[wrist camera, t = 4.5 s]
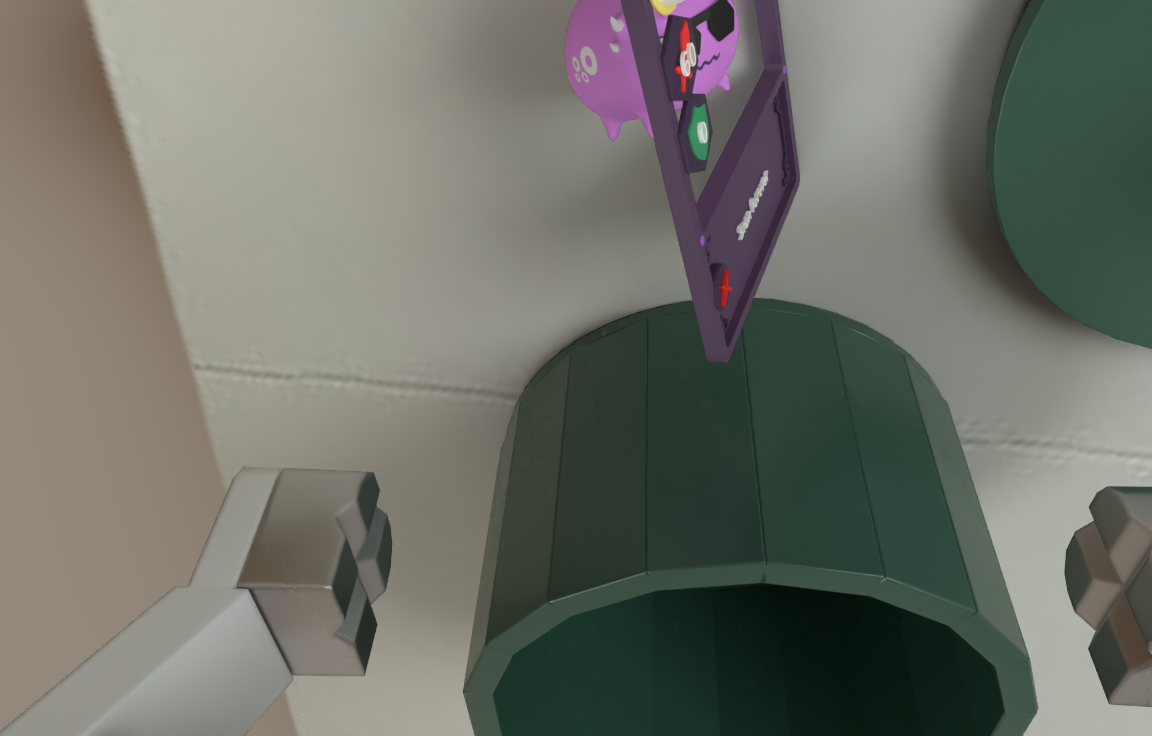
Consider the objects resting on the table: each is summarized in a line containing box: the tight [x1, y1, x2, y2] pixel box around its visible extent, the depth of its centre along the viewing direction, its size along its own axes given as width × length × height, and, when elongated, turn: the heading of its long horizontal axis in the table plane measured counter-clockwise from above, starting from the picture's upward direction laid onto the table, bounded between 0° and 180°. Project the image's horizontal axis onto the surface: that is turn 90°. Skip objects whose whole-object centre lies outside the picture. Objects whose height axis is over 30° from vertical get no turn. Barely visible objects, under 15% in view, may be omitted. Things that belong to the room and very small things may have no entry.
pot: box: [463, 299, 1038, 736], centre depth 28 cm, size 15×15×9 cm
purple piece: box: [565, 0, 800, 363], centre depth 19 cm, size 7×5×9 cm
